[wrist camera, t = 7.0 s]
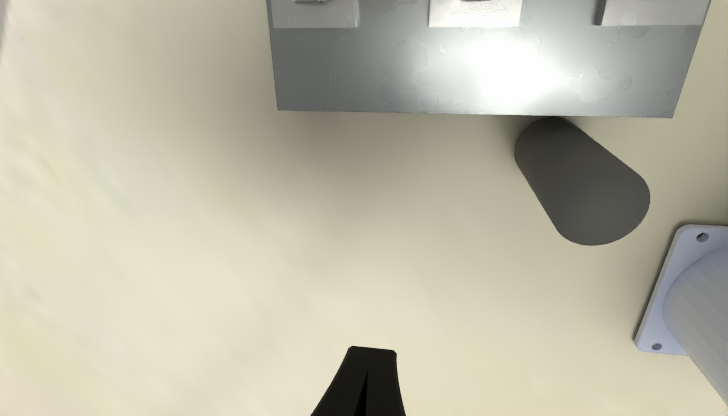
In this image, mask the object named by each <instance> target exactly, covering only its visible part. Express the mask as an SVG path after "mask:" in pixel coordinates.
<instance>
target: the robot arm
mask: <svg viewBox="0 0 728 416" xmlns="http://www.w3.org/2000/svg"><path fill="white" fill-rule="evenodd" d="M701 233H704V234H703V235H702V236H701V237H699V238H697V236H698V235H699V234H701ZM655 343H657V344H655ZM634 344H635V345H636V347H637V348H638V350H640V351H642V352H651V353H662V354H673V355H684V356H689V357H690V359H691V360H692V361H693V362H694V364H695V365H696V366H697V367H698V369H699V370H700V371H701V373H702V374H703V375H704V376H705V378H706V379H707V380H708V381H709V383H710V384H711V385H712V386H713V388H714V389H715V390H716V391H717V393H718V394H719V395H720V397H721V398H722V399H723V400H724V402H725V403H726V404H727V405H728V226H712V225H693V224H689V225H684V226H682V227H680V228H679V229H678V230H677V232H676V234H675V236H674V239H673V241H672V244H671V247H670V249H669V252H668V254H667V257H666V260H665V262H664V265H663V267H662V270H661V273H660V275H659V278H658V281H657V283H656V286H655V288H654V291H653V294H652V296H651V299H650V301H649V304H648V307H647V309H646V312H645V314H644V317H643V320H642V322H641V325H640V328H639V330H638V333H637V335H636V338H635V341H634ZM653 344H655V345H653ZM396 358H397V353H396V352H395V351H394V350H387V349H378V348H368V347H358V346H351V347H350V348H348V351H347V353H346V355H345V358H344V360H343V362H342V364H341V366H340V368H339V370H338V372H337V373H336V375H335V377H334V379H333V380H332V382H331V384H330V386H329V387H328V389H327V391H326V392H325V394H324V395H323V397H322V399H321V400H320V402H319V403H318V405H317V407H316V408H315V410H314V411H313V413H312V414H311V415H310V416H406V415H405V410H404V406H403V402H402V398H401V393H400V387H399V381H398V374H397V361H396Z"/></svg>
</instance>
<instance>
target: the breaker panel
mask: <svg viewBox="0 0 728 416" xmlns="http://www.w3.org/2000/svg"><path fill="white" fill-rule="evenodd" d="M266 1H267V11H268V20H269V30H270V40H271V50H272V59H273V69H274V79H275V88H276V98H277V108H278V110H293V111H343V112H394V113H445V114H495V115H546V116H597V117H647V118H672V117H673V114H674V111H675V108H676V105H677V102H678V99H679V96H680V93H681V90H682V87H683V84H684V81H685V78H686V75H687V72H688V69H689V66H690V63H691V60H692V57H693V53H694V50H695V47H696V44H697V41H698V38H699V35H700V32H701V29H702V26H703V23H704V20H705V17H706V14H707V11H708V8H709V5H710V2H711V0H491V1H486V2H464V0H320V4H295V0H266Z"/></svg>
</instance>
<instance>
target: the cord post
mask: <svg viewBox="0 0 728 416" xmlns="http://www.w3.org/2000/svg"><path fill="white" fill-rule="evenodd" d="M515 160H516V163H517V165H518V167H519V168H520V170H521V172H522V173H523V175H524V177H525V178H526V180H527V182H528V183H529V185H530V186H531V188H532V190H533V191H534V193H535V195H536V196H537V198H538V200H539V201H540V203H541V205H542V206H543V208H544V210H545V211H546V213H547V215H548V216H549V218H550V219H551V221H552V223H553V224H554V226H555V228H556V229H557V231H558V232H559V233H560V234H561V235H562V236H563V237H564V238H566V239H568V240H569V241H572V242H574V243H577V244H581V245H590V246H592V245H603V244H607V243H611V242H614V241H616V240H618V239H621V238H622V237H624V236H626V235H627V234H629V233H630V232H632V231H633V230H634V229H635V228H636V227H637V226H638V225H639V224H640V223H641V221H642V220H643V219H644V217H645V215H646V213H647V211H648V208H649V204H650V192H649V188H648V186H647V184H646V182H645V181H644V179H643V178H642V177H641V176H640V175H639V174H637V173H636V172H635V171H634V170H632V169H631V168H630V167H628V166H627V165H626V164H625V163H623V162H622V161H621V160H619V159H618V158H617V157H615V156H614V155H613V154H612V153H610V152H609V151H608V150H606V149H605V148H604V147H603V146H601V145H600V144H599V143H597V142H596V141H595V140H593V139H592V138H591V137H590V136H588V135H587V134H586V133H584V132H583V131H582V130H581V129H579V128H578V127H577V126H575V125H574V124H573V123H571V122H570V121H567V120H565V119H561V118H547V119H543V120H540V121H538V122H536V123H534V124H532V125H531V126H529V127H528V128H527V129H526V130H525V131H524V132H523V133H522V134H521V136H520V137H519V139H518V141H517V143H516V147H515Z"/></svg>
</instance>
